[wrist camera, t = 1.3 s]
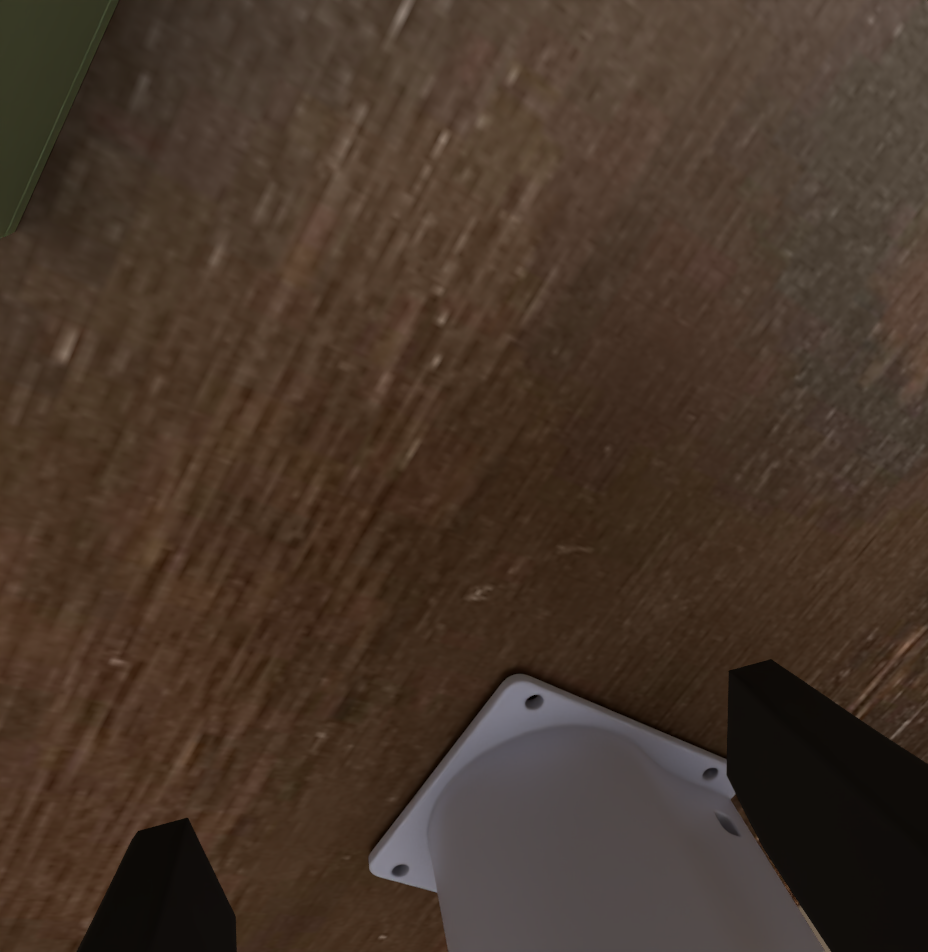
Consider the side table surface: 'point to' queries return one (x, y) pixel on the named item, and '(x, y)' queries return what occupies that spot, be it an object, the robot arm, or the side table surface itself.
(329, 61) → the side table surface
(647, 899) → the robot arm
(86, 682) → the side table surface
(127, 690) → the side table surface
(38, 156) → the sage green bin
